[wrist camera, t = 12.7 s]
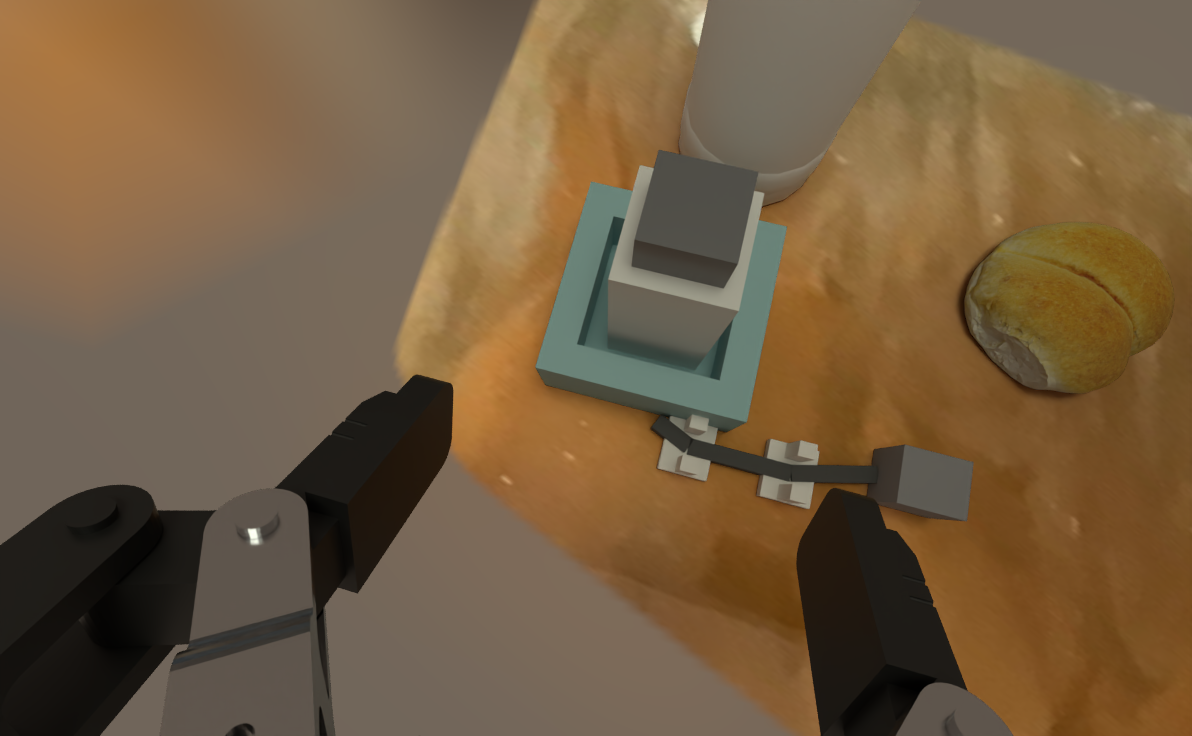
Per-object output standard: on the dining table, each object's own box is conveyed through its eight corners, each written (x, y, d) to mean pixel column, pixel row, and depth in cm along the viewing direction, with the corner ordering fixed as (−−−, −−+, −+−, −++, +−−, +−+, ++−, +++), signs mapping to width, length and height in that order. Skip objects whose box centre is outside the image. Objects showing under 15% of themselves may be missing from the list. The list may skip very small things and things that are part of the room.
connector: (713, 288, 27) (783, 158, 17) (694, 370, 26) (755, 288, 16) (629, 267, 28) (643, 127, 17) (607, 348, 27) (608, 253, 16)
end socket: (762, 262, 29) (787, 226, 25) (726, 432, 27) (746, 422, 23) (593, 222, 29) (591, 181, 26) (545, 384, 27) (535, 367, 24)
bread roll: (1162, 317, 28) (1253, 289, 24) (1046, 422, 27) (1121, 411, 23) (1040, 206, 29) (1107, 163, 26) (926, 301, 28) (977, 271, 24)
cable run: (935, 465, 26) (973, 462, 23) (925, 541, 25) (963, 547, 23) (658, 393, 27) (664, 382, 25) (641, 464, 26) (645, 461, 24)
